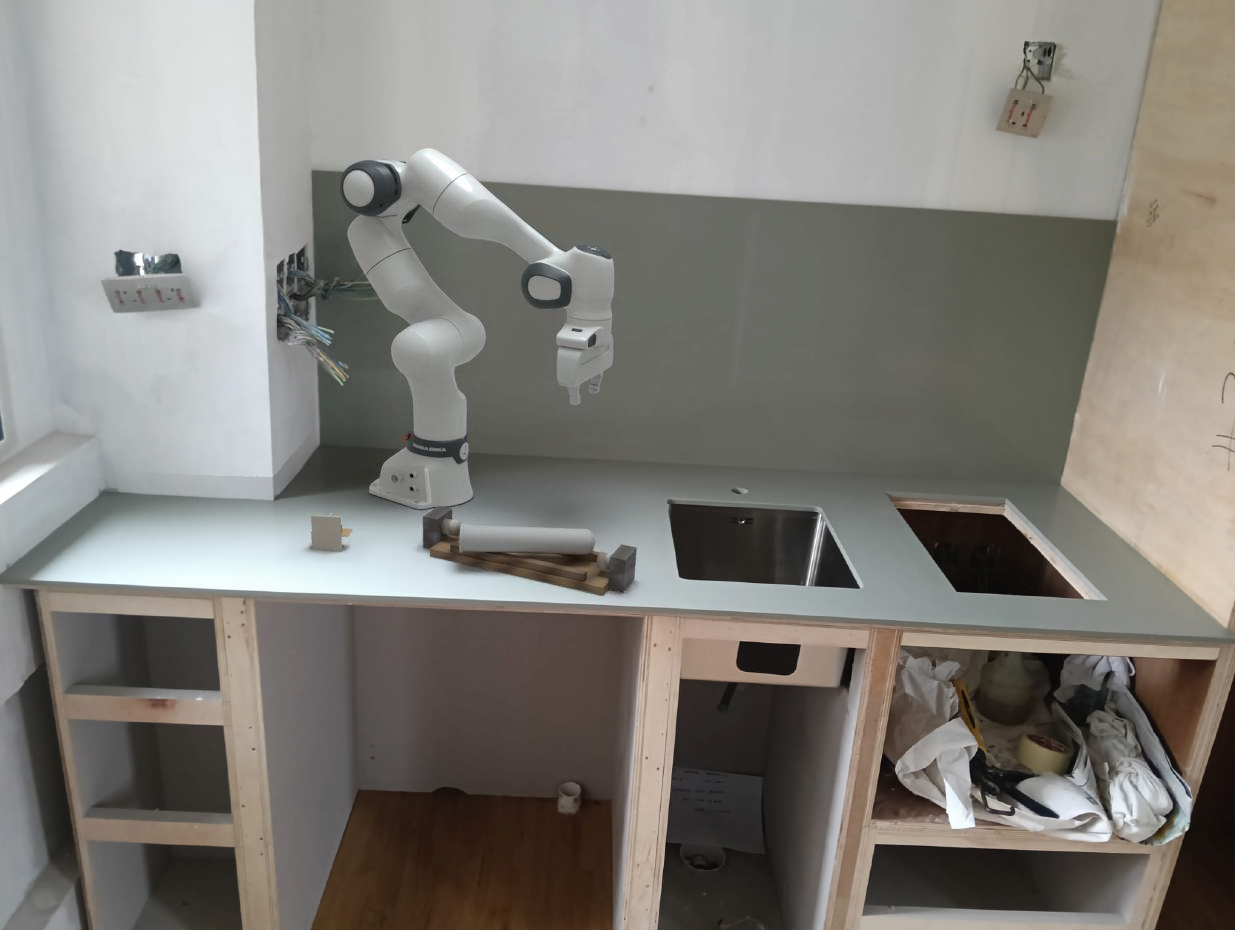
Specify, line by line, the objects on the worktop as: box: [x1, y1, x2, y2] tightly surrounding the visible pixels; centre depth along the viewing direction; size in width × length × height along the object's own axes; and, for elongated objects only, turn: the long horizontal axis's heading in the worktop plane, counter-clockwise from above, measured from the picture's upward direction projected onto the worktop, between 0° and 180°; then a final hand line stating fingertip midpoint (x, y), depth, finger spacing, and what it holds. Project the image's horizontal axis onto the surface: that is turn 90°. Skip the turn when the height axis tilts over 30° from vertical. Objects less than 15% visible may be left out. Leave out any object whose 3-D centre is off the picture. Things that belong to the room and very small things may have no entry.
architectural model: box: [310, 512, 354, 552], centre depth 187 cm, size 3×7×7 cm, turn 89°
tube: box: [459, 522, 597, 555], centre depth 184 cm, size 5×5×25 cm
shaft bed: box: [422, 506, 638, 596], centre depth 186 cm, size 41×11×6 cm, turn 70°
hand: (584, 398), depth 198 cm, fingers open, 8 cm apart
